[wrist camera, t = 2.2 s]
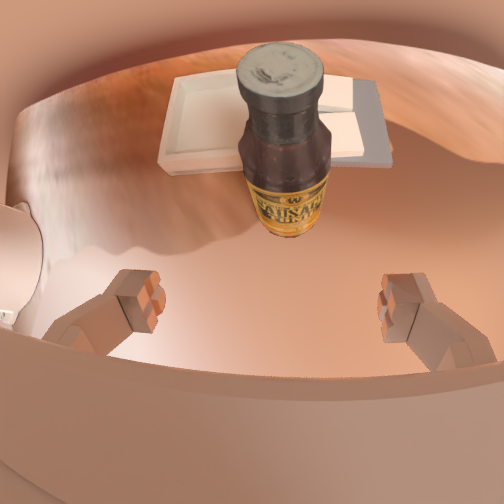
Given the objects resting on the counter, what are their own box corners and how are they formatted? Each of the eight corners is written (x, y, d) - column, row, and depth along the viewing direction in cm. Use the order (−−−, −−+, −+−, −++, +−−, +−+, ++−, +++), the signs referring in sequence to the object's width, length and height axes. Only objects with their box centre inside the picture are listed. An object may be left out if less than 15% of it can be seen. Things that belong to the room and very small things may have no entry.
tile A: (316, 158, 31) (316, 153, 29) (309, 120, 32) (309, 114, 30) (362, 155, 30) (364, 150, 29) (353, 118, 31) (354, 111, 30)
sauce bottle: (263, 245, 31) (199, 135, 12) (255, 188, 32) (196, 44, 13) (328, 235, 30) (360, 110, 11) (316, 178, 31) (321, 23, 12)
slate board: (299, 166, 32) (299, 161, 31) (296, 85, 34) (295, 78, 33) (390, 168, 30) (392, 163, 29) (373, 86, 33) (375, 80, 32)
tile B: (307, 109, 32) (307, 103, 31) (310, 79, 33) (310, 73, 32) (351, 115, 31) (352, 108, 30) (351, 84, 32) (352, 77, 31)
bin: (169, 175, 34) (157, 162, 31) (183, 93, 37) (174, 77, 33) (269, 169, 32) (266, 153, 29) (270, 84, 35) (267, 65, 32)
